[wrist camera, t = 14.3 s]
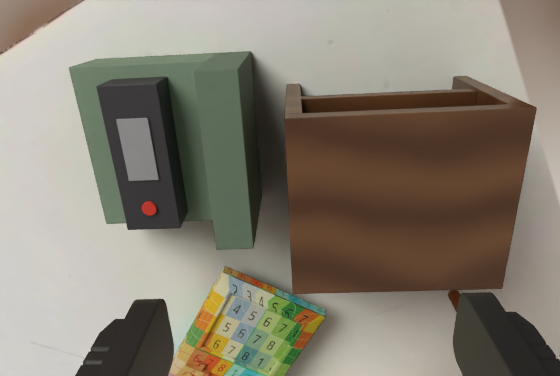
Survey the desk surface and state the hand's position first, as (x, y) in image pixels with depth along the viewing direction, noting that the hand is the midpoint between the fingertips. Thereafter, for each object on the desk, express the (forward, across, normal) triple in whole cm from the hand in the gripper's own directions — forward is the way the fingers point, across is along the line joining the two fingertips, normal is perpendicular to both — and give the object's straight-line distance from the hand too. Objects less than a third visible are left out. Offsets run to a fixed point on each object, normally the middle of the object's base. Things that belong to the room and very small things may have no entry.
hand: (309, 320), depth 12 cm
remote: (+25, +12, +3) cm, 28 cm away
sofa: (+30, +11, +3) cm, 32 cm away
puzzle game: (+30, +8, +28) cm, 42 cm away
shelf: (+30, -7, +6) cm, 31 cm away
